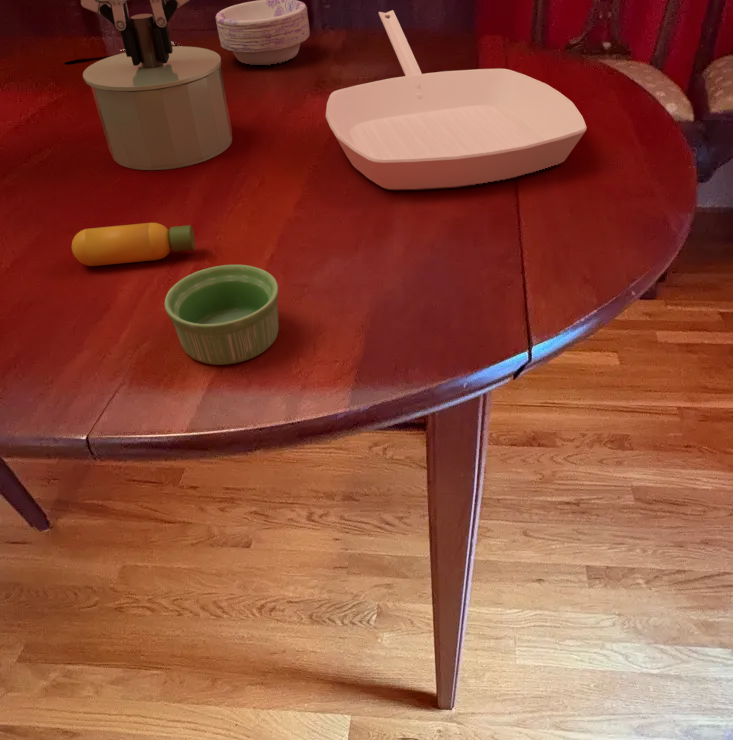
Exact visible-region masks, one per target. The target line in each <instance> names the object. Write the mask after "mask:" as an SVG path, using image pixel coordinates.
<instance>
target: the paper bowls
mask: <svg viewBox="0 0 733 740" xmlns="http://www.w3.org/2000/svg"><path fill="white" fill-rule="evenodd" d="M215 23H216V28H217V29H216V30H217V34H218V38H219V41H220V47H221V48H223V49H225V50H227V51H231V52H232V53H233V56H234V57H235V58H236V59H237V61H238V62H239V63H241V62H242V63H241V64H243V63H245V64H244V65H246V64H250V65H249V66H252V65H266V66H272V65H271V64H274V65H278V64H277V63H279V64H283V63H286V62H288V60H289V61H290V59H291V60H292V59H294V58H295V57H296V56H297V55H298V53H299V51H300V48H301V44H302V43H304V42H305V41H306V40H307V39H308V38H309V37H310V36H311V35H310V32H311V31H310V23H309V15H308V7H307V5H306V4H305V2H303V1H300V0H252V1H247V2H242V3H238V4H234V5H231V6H228V7H225V8H224V9H221V10H219V11H218V12H217V13H216V15H215ZM285 61H286V62H285ZM282 62H283V63H282Z"/></svg>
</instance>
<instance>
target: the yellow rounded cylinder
mask: <svg viewBox="0 0 733 740" xmlns="http://www.w3.org/2000/svg"><path fill="white" fill-rule="evenodd" d="M196 245H197V244H196V235H195V231H194V228H193V225H190V224H187V225H180V226H170V228H169V229H168V228H167V227H166V226H165V225H164V224H162V223H159V222H145V223H144V222H143V223H134V224H123V225H112V226H101V227H92V228H91V227H90V228H84V229H81V230H80V231H78V232H77V233H76V234H75V235H74V237H73V239H72V241H71V252H72V254H73V256H74V258H75V259H76V260H77V261H78V262H79V263H81V264H83V265H84V266H88V267H100V266H110V265H118V264H119V265H120V264H129V263H130V264H132V263H140V262H150V261H158V260H162V259H164V258H166V257H168V255H169V254H170V253H171V251H173V252H174V253H178V252H179V253H180V252H188V251H195V250H196Z"/></svg>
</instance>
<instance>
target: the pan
mask: <svg viewBox="0 0 733 740" xmlns="http://www.w3.org/2000/svg"><path fill="white" fill-rule="evenodd" d="M378 16H379V18H380V20H381V22H382V25H383V27H384V29H385V32H386V34H387V36H388V39H389V41H390V44H391V46H392V48H393V50H394V53H395V55H396V57H397V59H398V62H399V65H400V67H401V69H402V71H403V74H404V75H403V76H398V77H397V76H396V77H391V78H386V79H385V78H384V79H381V80H375V81H371V82H367V83H362V84H356V85H352V86H349V87H344V88H340V89H336V90H334V91H332V92H331V93H330V94H329V97H328V100H327V102H326V106H325V107H326V108H325V119H326V122H327V123H328V125H329V128H330V130H331V132H332V133H333V135H334V136H335V138H336V140H337V142H338V144H339V146H340V147H341V149H342V151H343V152H344V154H345V156H346V157H347V159H348V160H349V162H350V163H351V166H353V167H354V168H355V169H356V170H357V171H359V172H360V173H361V174H362V175H363V176H364V177H366V178H367V179H368V180H370V181H371V182H373V183H374V184H376V185H377V186H380V187H381V188H382V189H384V190H388V191H421V190H422V191H423V190H424V191H425V190H439V189H441V190H442V189H455V188H462V187H470V185H471V186H477V185H476V184H479V185H484V184H483V183H485V184H489V183H488V182H491V183H495V182H494V181H497V182H501V181H500V180H502V181H507V180H506V179H508V180H512V179H516V178H519V177H523V176H526V175H525V174H527V175H529V173H530V174H534V173H537V172H536V171H538V172H540V171H539V170H541V171H543V170H542V169H544V170H546V169H545V168H547V169H549V168H548V167H550V168H552V167H551V166H553V167H555V166H554V165H556V166H558V165H560V164H562V163H564V162H565V161H566V159H567V158H568V157H569V156H570V154H571V152H572V151H573V150H574V148H575V147H576V145H578V143H579V141H580V140H581V139H582V137H583V135H584V134H585V132H586V131H587V128H588V127H587V124H586V121H585V119H584V117H583V115H582V114H581V112H580V111H579V109H578V108H577V106H576V105H575V103H574V102H573V101H572V100H570V99H569V98H568V97H567V96H565V95H564V94H562V93H561V91H558V90H557V89H556V88H553V86H550V85H549V84H547V83H546V82H542V81H541V80H538V79H535V78H533V77H531V76H528V75H526V74H525V73H524V74H523V73H521V72H518V71H515V70H512V69H507V68H477V69H461V70H460V69H459V70H443V71H436V72H426V73H422V71H421V69H420V66H419V64H418V62H417V60H416V59H417V58H415V55H414V53H413V50H412V48H411V46H410V44H409V42H408V39H407V37H406V35H405V33H404V31H403V29H402V26H401V24H400V22H399V19H398V17H397V16H396V13H395V11H394V10H393V9H392V10H389V11H386V12H383V11H378ZM533 172H534V173H533ZM522 175H523V176H522ZM518 176H519V177H518ZM511 178H512V179H511Z"/></svg>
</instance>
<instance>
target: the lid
mask: <svg viewBox="0 0 733 740" xmlns="http://www.w3.org/2000/svg"><path fill="white" fill-rule="evenodd" d="M130 20H131V23H132V27H133V31H134V35H135V40H136V44H137V48H138V52H139V57H140V61H141V62H140V64H139V65H137V66H134V65H133V62H132V58H131V57H127V55H126V52H121V53H117V54H114V55H111V56H108V57H105V58H103V59H100V60H98V61H95V62H94V63H92V64H90V65H89V66H88V67H86V68H85V69H84V71H83V72H82V79H83V81H84V83H85V84H86V85H88V86H90V87H91V86H92V87H95V88H98V89H103V90H111V91H141V90H152V89H159V88H166V87H171V86H176V85H180V84H184V83H188V82H191V81H195V80H198V79H200V78H203V77H205V76H207V75H209V74H211V73H213V72H214V71H216V70H217V69H218V68H219V67H220V66H221V65H222V59H221V58H222V57H221V55H220V54H219V53H217V52H216V51H214V50H211V49H208V48H203V47H199V46H198V47H197V46H185V45H184V46H182V45H181V46H175V45H173V46H172V50H173V52H172V53H171V54H169V59H168V61H167V63H162V62H160V59H159V55H158V50H157V46H156V41H155V36H154V32H153V29H154V27H155V24H154V21H155V17H154V14H151V13H139V14H134V15H132V16H130Z"/></svg>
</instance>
